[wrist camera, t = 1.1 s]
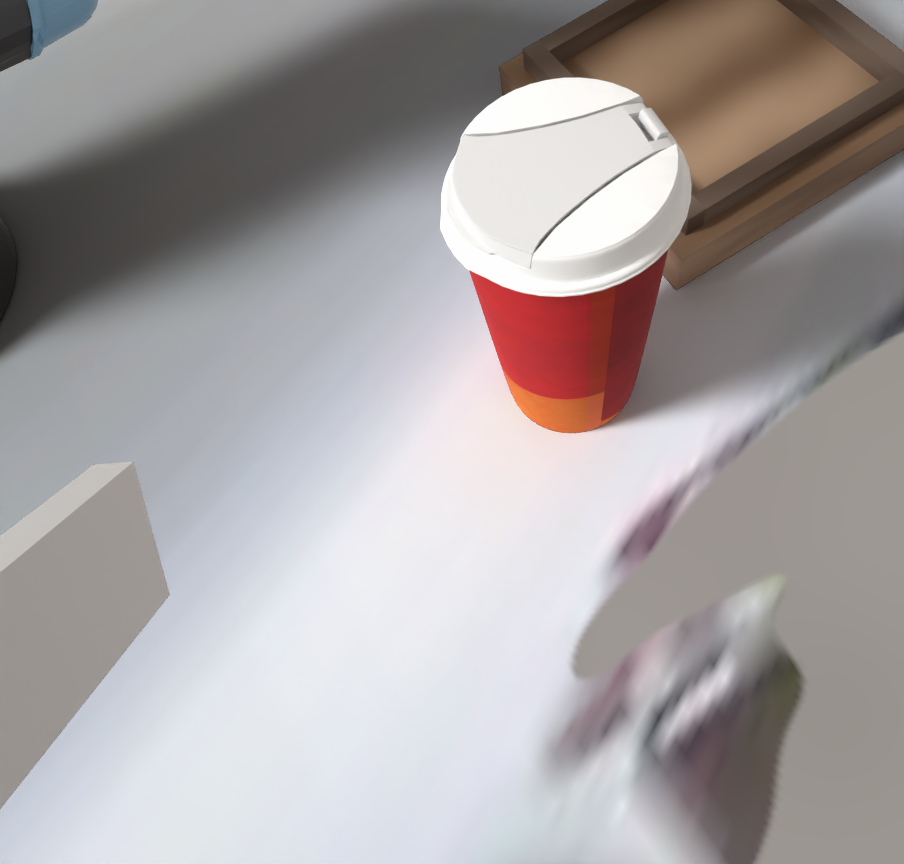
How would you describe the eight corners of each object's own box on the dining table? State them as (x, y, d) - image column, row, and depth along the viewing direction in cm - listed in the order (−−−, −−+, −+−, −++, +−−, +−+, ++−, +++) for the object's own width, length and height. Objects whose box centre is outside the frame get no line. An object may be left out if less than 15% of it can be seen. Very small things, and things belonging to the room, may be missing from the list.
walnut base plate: (503, 100, 47) (496, 48, 44) (729, -31, 48) (740, -92, 45) (676, 290, 40) (684, 244, 37) (933, 131, 42) (963, 73, 38)
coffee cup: (608, 279, 41) (617, 29, 28) (691, 411, 38) (749, 199, 24) (457, 347, 41) (392, 129, 27) (527, 486, 38) (492, 315, 24)
